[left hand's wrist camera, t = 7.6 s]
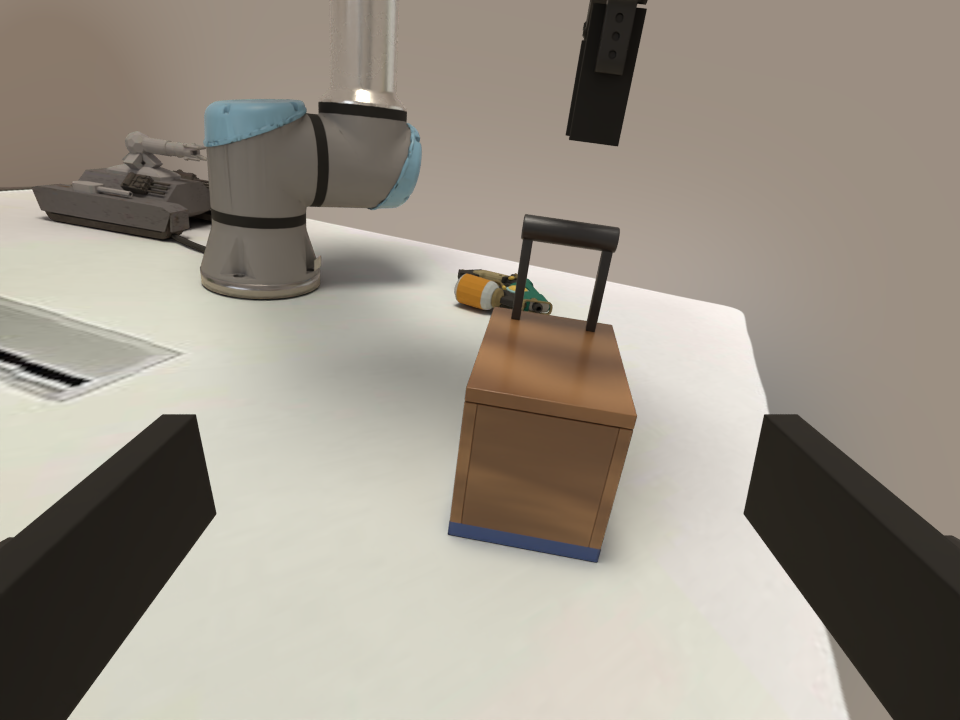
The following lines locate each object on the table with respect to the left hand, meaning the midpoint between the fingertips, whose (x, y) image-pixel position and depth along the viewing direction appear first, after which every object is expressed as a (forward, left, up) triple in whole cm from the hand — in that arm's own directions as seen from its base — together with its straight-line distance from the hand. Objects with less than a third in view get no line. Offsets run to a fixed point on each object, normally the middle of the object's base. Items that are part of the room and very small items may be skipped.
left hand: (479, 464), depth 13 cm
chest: (+24, +2, -17) cm, 30 cm away
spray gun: (+64, +18, -17) cm, 69 cm away
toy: (+64, +85, -17) cm, 108 cm away
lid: (+24, +2, -7) cm, 25 cm away
